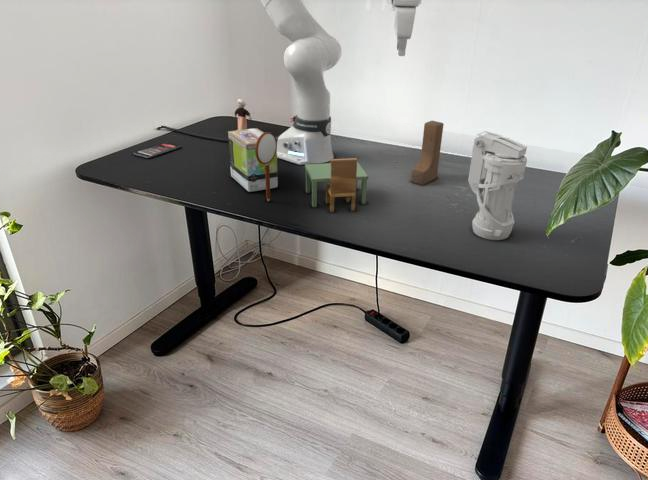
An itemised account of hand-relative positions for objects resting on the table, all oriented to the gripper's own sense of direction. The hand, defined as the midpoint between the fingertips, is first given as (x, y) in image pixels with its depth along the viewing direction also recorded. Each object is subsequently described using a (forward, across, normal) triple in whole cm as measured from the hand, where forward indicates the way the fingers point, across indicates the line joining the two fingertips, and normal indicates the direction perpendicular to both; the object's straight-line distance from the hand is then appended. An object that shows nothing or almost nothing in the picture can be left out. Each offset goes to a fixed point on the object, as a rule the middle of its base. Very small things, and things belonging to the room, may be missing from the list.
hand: (400, 52), depth 147 cm
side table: (+39, +10, -17) cm, 44 cm away
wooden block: (+39, -8, +11) cm, 42 cm away
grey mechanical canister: (+40, +27, +25) cm, 54 cm away
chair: (+39, +16, -15) cm, 45 cm away
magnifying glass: (+39, +15, -36) cm, 55 cm away
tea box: (+39, +1, -42) cm, 58 cm away
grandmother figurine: (+38, -51, -57) cm, 85 cm away
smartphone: (+38, -23, -81) cm, 93 cm away
